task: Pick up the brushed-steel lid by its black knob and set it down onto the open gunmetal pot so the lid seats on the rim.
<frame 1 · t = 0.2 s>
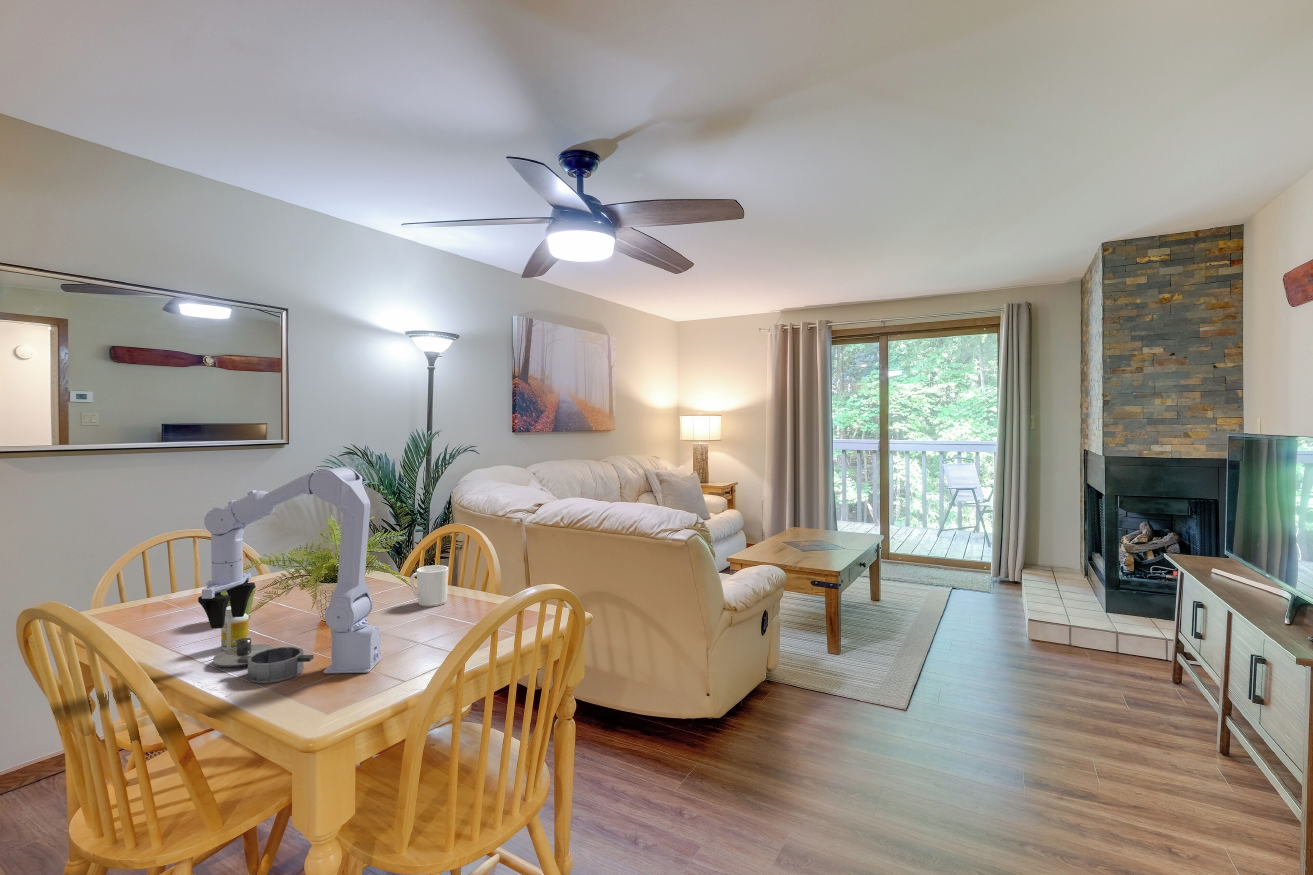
hand: (228, 622, 135), 10 cm above the table, fingers open, 7 cm apart
mug: (429, 604, 183), on the table
lid: (243, 661, 138), on the table
plant pot: (236, 621, 166), on the table
supplement bottle: (235, 647, 147), on the table
pot: (276, 673, 131), on the table
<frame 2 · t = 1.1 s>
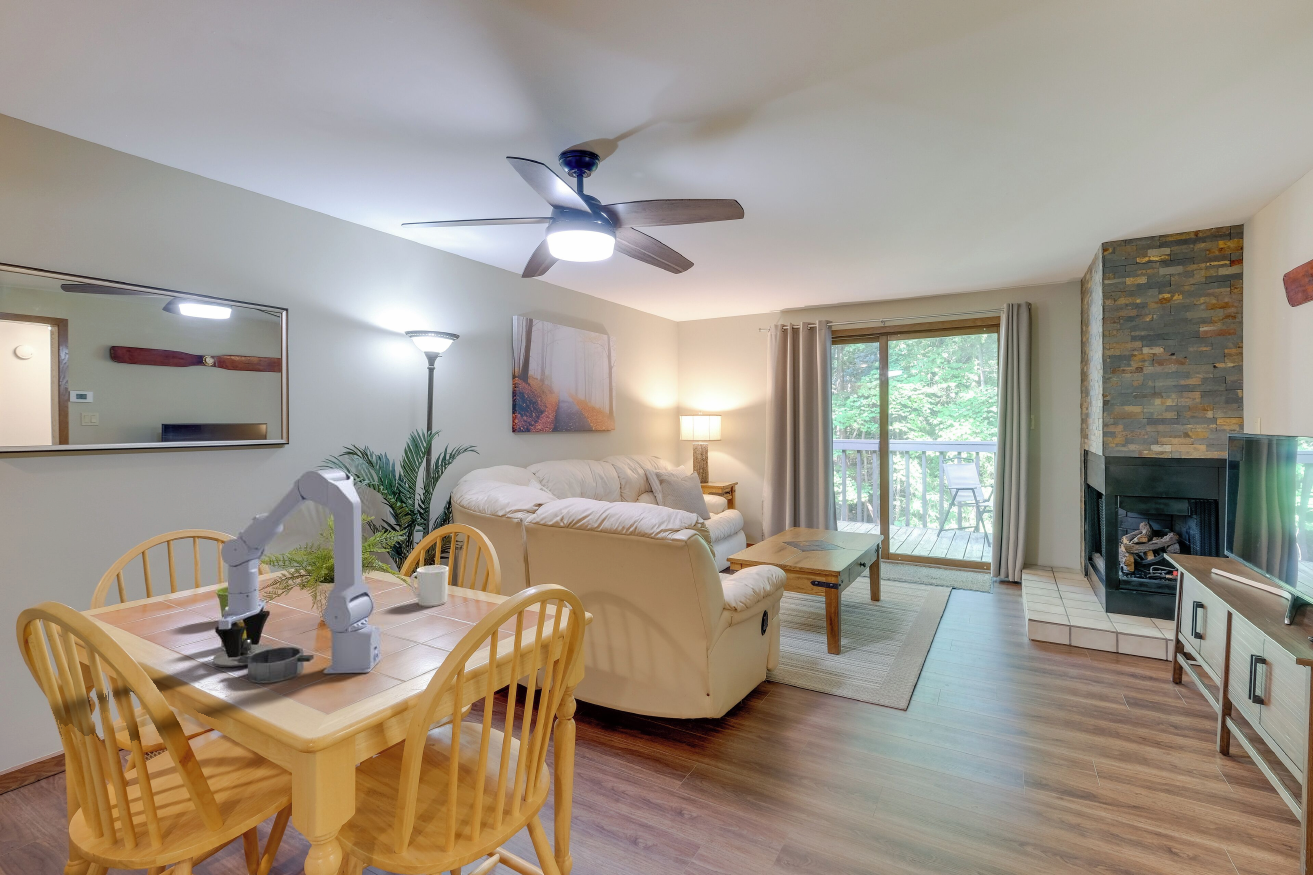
hand: (243, 650, 138), 2 cm above the table, fingers open, 7 cm apart
nothing on the table moved.
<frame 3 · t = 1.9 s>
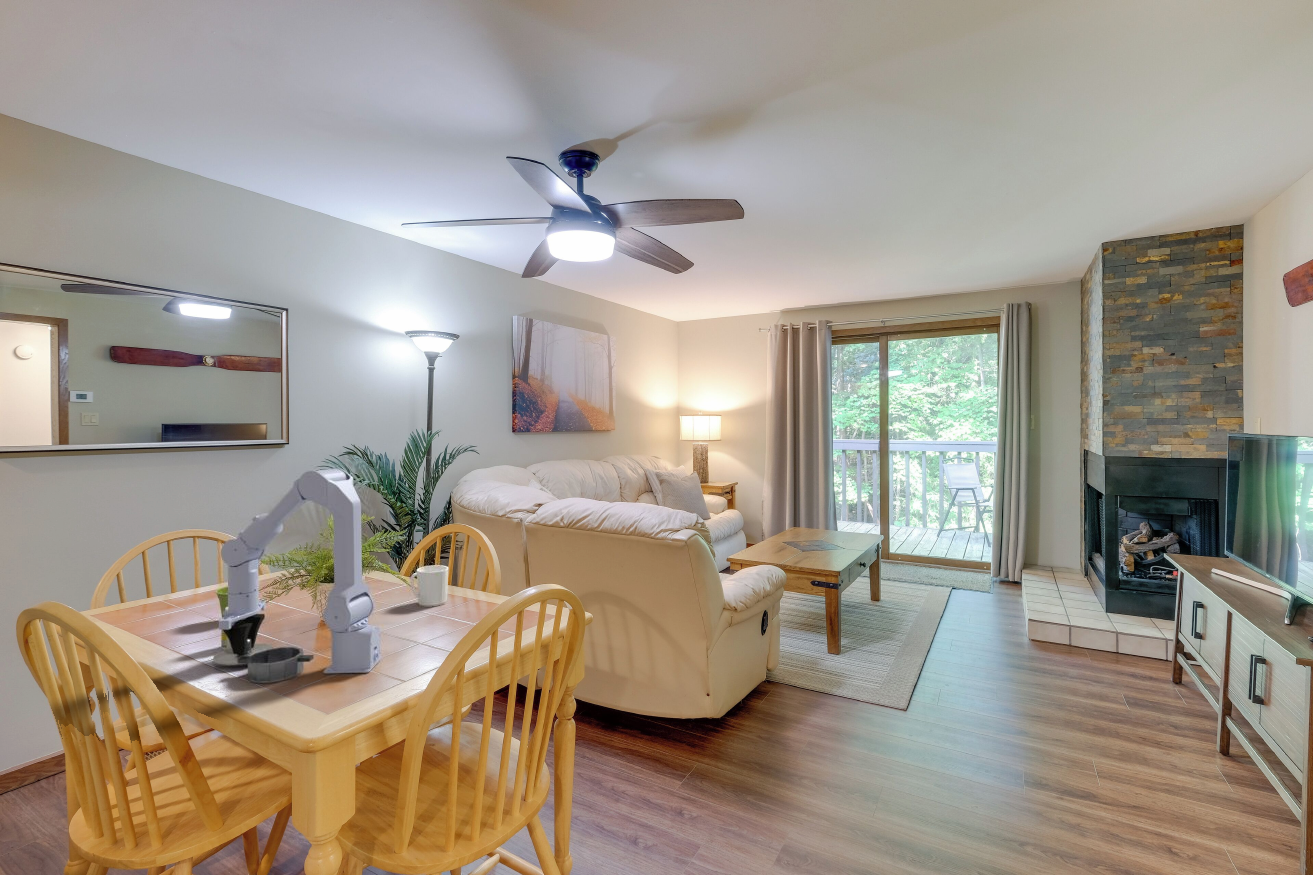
hand: (243, 650, 138), 2 cm above the table, fingers closed on lid, 3 cm apart
lid: (243, 660, 138), on the table, touching gripper
everything else where it was.
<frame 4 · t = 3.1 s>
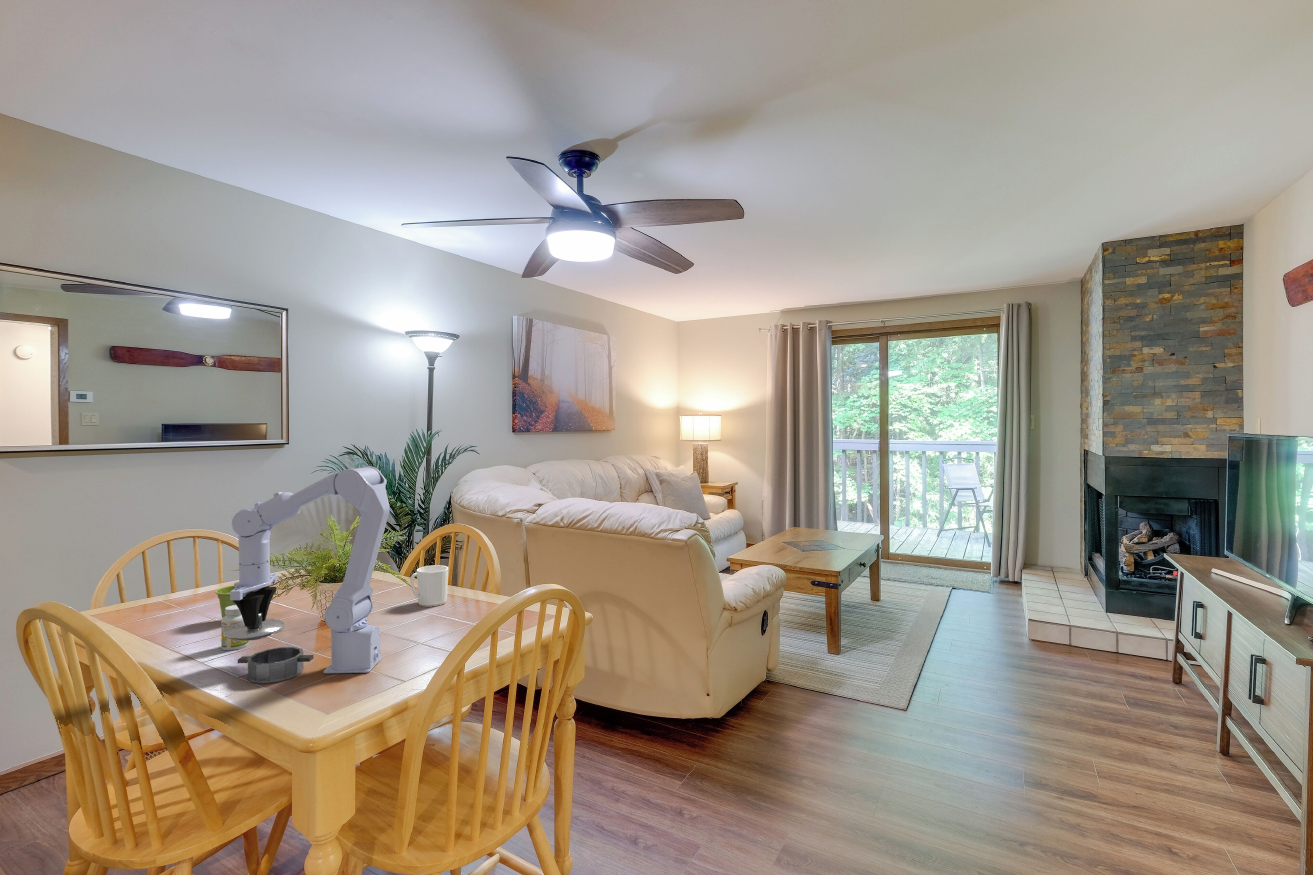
hand: (255, 623, 136), 9 cm above the table, fingers closed on lid, 3 cm apart
lid: (254, 635, 136), point 7 cm above the table, touching gripper
everything else where it was.
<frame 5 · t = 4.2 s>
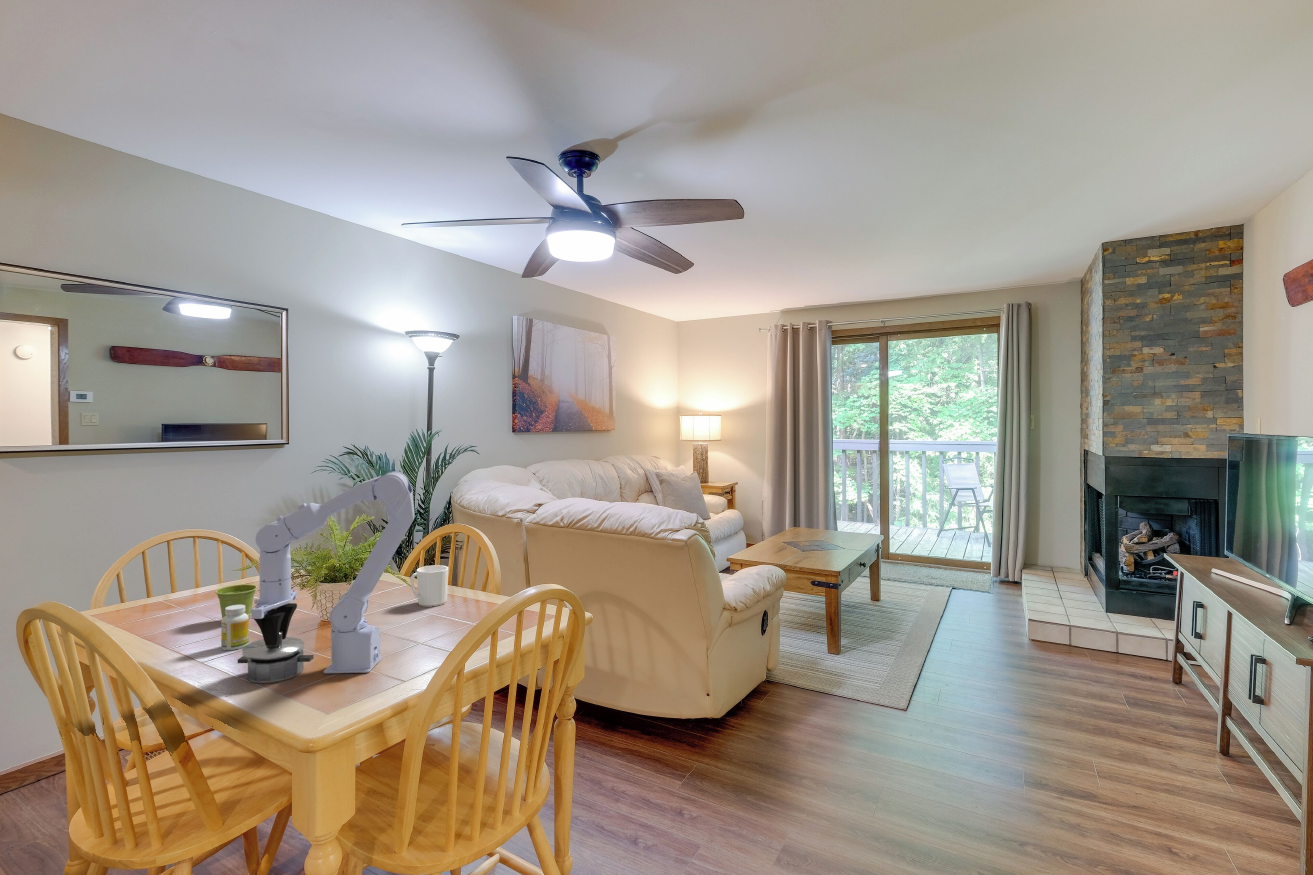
hand: (275, 641, 131), 7 cm above the table, fingers closed on lid, 3 cm apart
lid: (273, 654, 131), point 4 cm above the table, touching gripper
everything else where it was.
when the fingers open (6 cm above the table, at t = 4.6 s): lid stays where it is, resting on pot.
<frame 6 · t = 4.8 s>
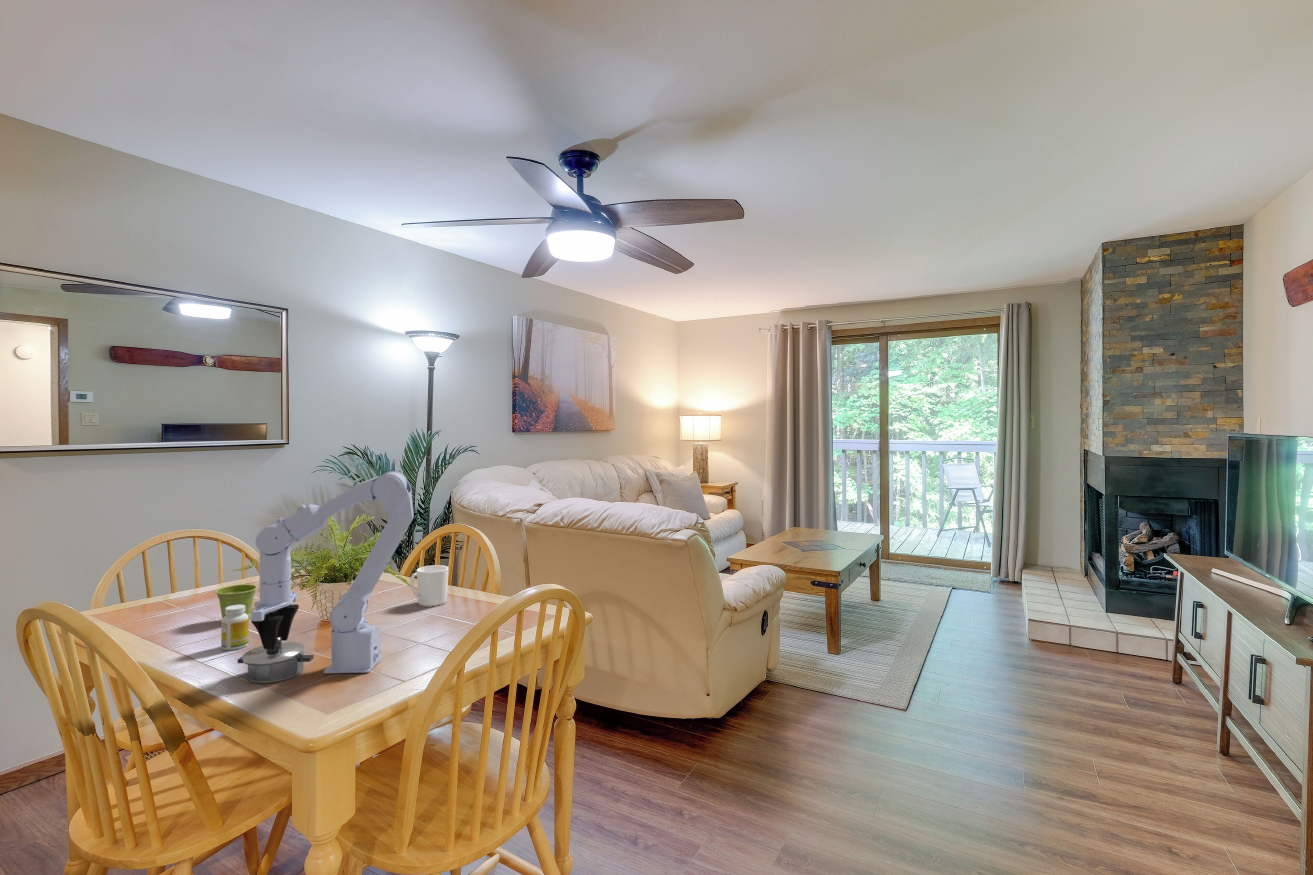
hand: (275, 644, 131), 6 cm above the table, fingers open, 4 cm apart
lid: (274, 659, 131), point 3 cm above the table, touching pot
everything else where it was.
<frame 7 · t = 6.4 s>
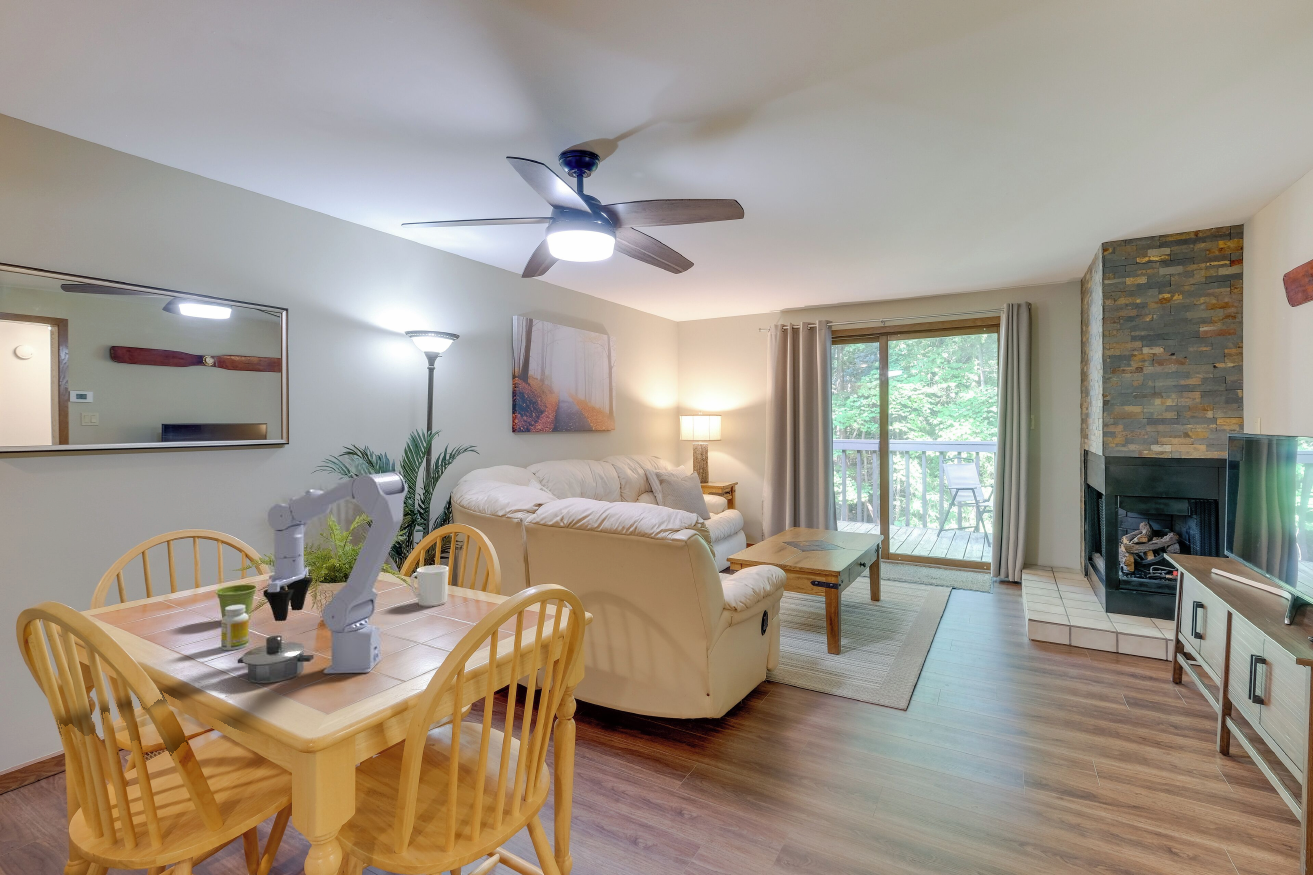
hand: (289, 615, 139), 10 cm above the table, fingers open, 7 cm apart
nothing on the table moved.
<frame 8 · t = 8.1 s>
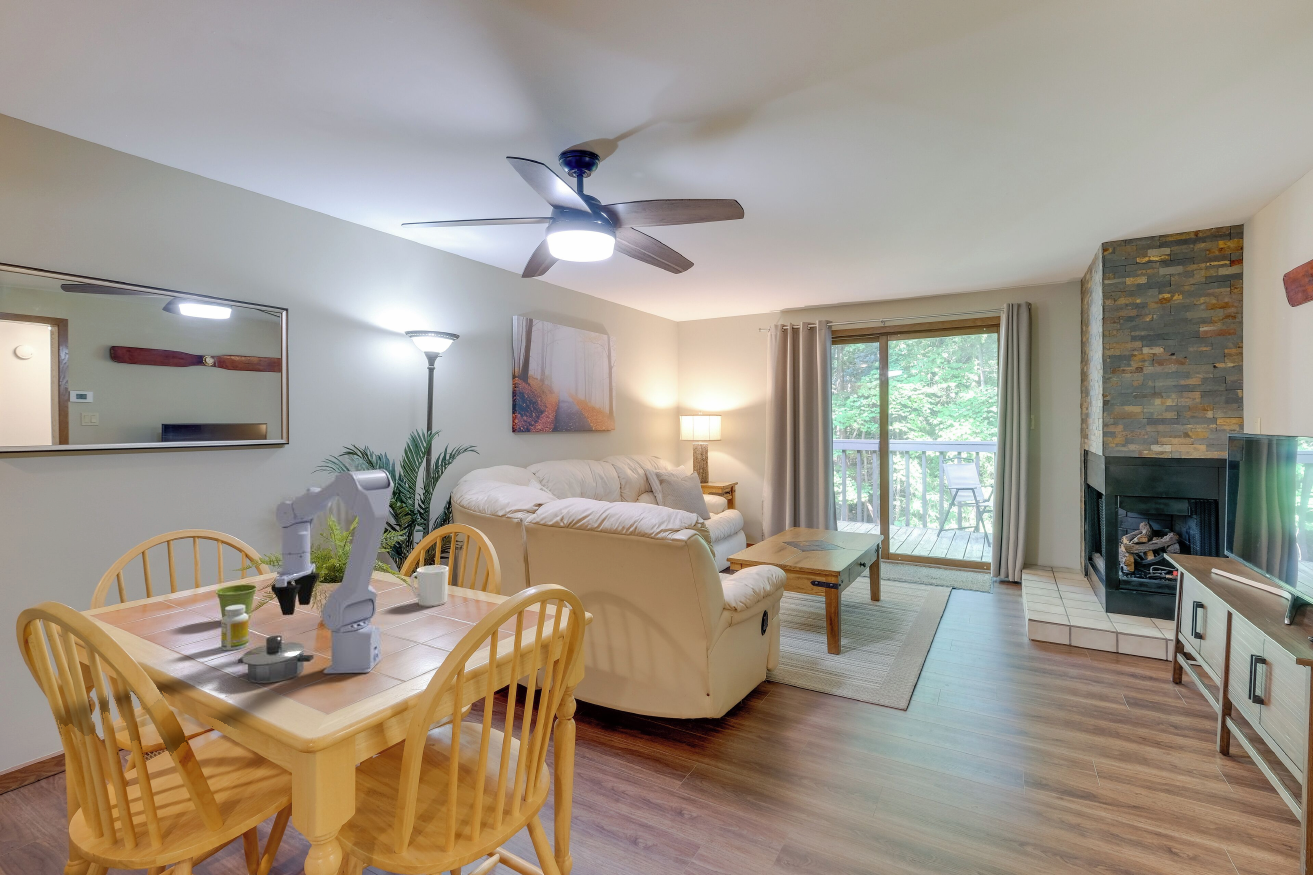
hand: (296, 609, 144), 10 cm above the table, fingers open, 7 cm apart
nothing on the table moved.
at the end: lid 0.4 cm off-centre on the pot, point 3.0 cm above the pot's base; lid tilted 0°; the gripper is holding nothing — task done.
